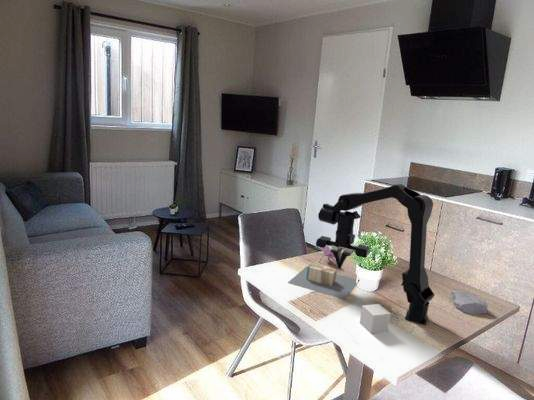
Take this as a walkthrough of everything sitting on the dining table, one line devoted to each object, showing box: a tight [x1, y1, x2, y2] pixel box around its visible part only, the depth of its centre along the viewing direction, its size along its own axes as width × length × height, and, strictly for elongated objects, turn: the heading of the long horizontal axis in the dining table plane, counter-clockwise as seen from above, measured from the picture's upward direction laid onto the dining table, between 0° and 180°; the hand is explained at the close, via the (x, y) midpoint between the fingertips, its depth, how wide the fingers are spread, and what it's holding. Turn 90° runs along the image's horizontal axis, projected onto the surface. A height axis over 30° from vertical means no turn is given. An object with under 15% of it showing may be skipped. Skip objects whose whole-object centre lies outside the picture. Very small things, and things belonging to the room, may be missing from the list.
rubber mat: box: [287, 265, 358, 300], centre depth 147 cm, size 20×22×1 cm
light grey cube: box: [359, 303, 391, 334], centre depth 118 cm, size 6×6×6 cm
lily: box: [318, 245, 337, 265], centre depth 167 cm, size 12×12×10 cm
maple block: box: [306, 262, 338, 286], centre depth 147 cm, size 5×5×10 cm
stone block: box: [449, 290, 489, 315], centre depth 138 cm, size 12×5×10 cm
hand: (339, 268), depth 144 cm, fingers closed
